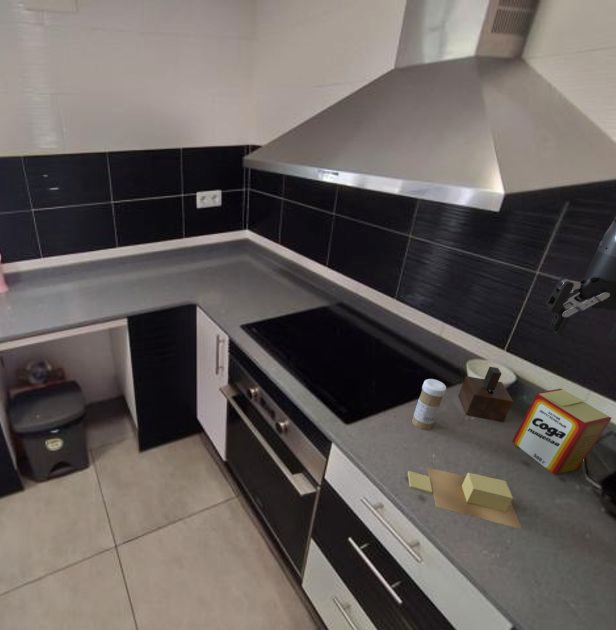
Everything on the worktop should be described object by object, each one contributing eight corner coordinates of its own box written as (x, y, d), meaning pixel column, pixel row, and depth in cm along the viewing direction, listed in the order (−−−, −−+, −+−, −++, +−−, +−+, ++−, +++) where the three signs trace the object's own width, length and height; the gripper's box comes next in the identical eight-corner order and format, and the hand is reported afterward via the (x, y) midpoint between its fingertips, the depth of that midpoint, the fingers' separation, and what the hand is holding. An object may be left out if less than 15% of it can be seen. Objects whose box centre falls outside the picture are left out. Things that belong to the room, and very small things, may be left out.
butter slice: (429, 476, 79) (408, 470, 80) (432, 492, 76) (410, 485, 77) (427, 481, 80) (406, 476, 81) (430, 497, 77) (408, 491, 78)
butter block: (498, 494, 76) (505, 481, 74) (505, 512, 72) (513, 498, 70) (461, 485, 78) (467, 472, 76) (466, 502, 74) (473, 488, 72)
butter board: (501, 489, 78) (503, 485, 78) (520, 533, 70) (522, 529, 69) (425, 470, 82) (427, 466, 82) (434, 510, 74) (436, 506, 73)
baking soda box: (575, 473, 81) (612, 416, 74) (551, 479, 80) (587, 422, 73) (531, 441, 90) (561, 387, 82) (509, 446, 88) (537, 391, 81)
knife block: (490, 406, 101) (501, 381, 97) (501, 426, 94) (513, 401, 90) (456, 399, 103) (465, 375, 99) (463, 419, 96) (474, 394, 93)
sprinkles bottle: (429, 424, 95) (445, 381, 89) (431, 437, 91) (448, 392, 85) (409, 419, 96) (423, 376, 90) (410, 431, 93) (425, 387, 87)
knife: (480, 404, 99) (497, 366, 94) (485, 413, 96) (502, 374, 91) (472, 403, 100) (488, 365, 94) (476, 412, 97) (493, 373, 91)
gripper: (587, 254, 62) (546, 340, 69) (705, 263, 57) (647, 353, 65) (565, 242, 68) (529, 321, 75) (670, 249, 64) (621, 333, 71)
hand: (584, 336), depth 70 cm, fingers open, 8 cm apart
